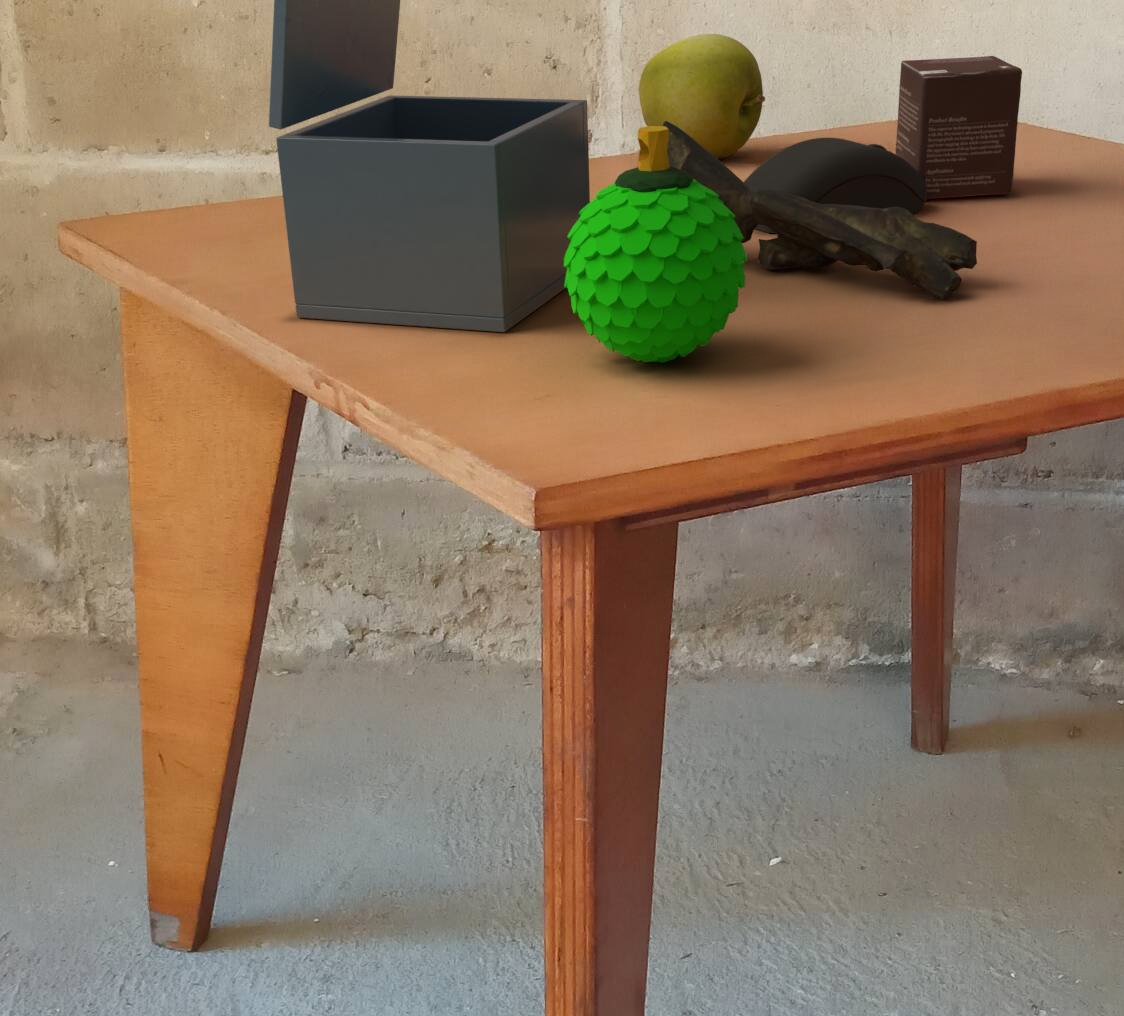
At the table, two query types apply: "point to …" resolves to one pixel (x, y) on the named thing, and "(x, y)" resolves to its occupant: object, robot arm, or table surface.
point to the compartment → (434, 209)
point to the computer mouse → (841, 175)
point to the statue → (831, 227)
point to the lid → (329, 55)
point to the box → (959, 124)
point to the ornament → (654, 259)
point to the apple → (704, 91)
